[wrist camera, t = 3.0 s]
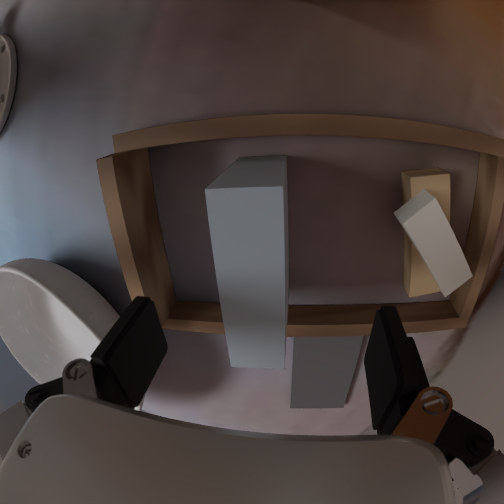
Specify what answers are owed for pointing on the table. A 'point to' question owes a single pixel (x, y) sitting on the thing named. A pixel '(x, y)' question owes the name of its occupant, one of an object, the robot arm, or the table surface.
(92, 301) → the serving bowl
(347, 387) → the mat
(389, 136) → the wooden tray
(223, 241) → the light grey block
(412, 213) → the offcut upper
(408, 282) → the offcut lower
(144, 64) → the table surface
